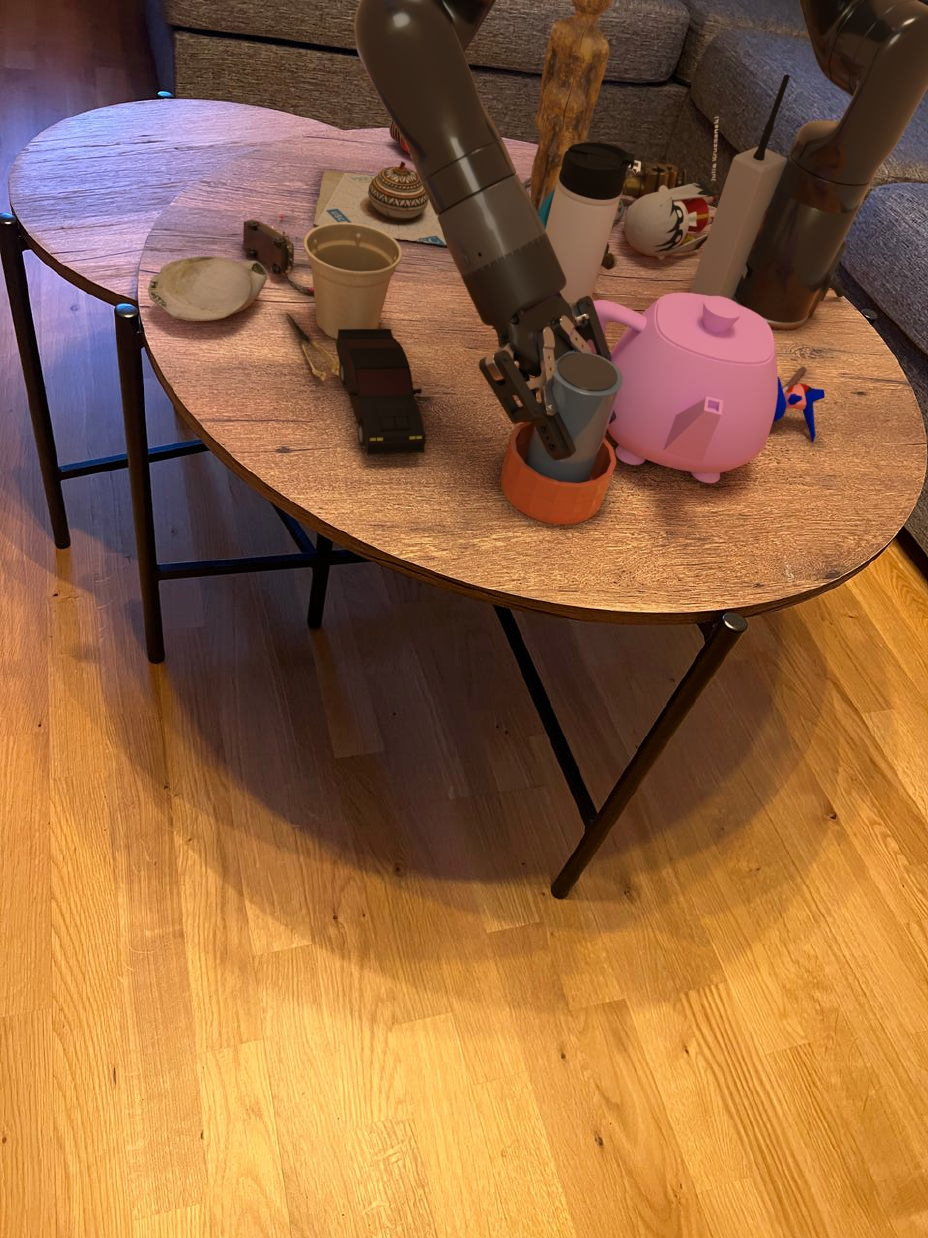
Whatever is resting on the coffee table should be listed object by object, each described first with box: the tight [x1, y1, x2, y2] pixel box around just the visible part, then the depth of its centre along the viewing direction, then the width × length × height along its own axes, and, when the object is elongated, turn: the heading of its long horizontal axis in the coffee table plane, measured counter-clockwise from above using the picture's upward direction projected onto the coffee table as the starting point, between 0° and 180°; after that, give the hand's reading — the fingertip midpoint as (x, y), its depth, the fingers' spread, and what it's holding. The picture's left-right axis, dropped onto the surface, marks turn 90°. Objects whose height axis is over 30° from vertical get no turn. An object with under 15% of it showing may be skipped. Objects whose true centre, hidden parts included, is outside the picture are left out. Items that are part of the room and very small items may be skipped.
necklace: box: [285, 264, 314, 296], centre depth 104 cm, size 4×6×1 cm
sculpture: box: [530, 0, 613, 212], centre depth 107 cm, size 7×6×30 cm
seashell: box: [147, 255, 268, 322], centre depth 96 cm, size 12×8×5 cm
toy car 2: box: [335, 328, 427, 456], centre depth 90 cm, size 7×16×5 cm, turn 15°
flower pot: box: [303, 222, 403, 340], centre depth 97 cm, size 9×9×9 cm
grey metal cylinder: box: [525, 351, 623, 483], centre depth 84 cm, size 6×6×12 cm
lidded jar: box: [313, 160, 447, 246], centre depth 116 cm, size 15×18×7 cm
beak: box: [285, 311, 340, 382], centre depth 96 cm, size 12×3×1 cm, turn 25°
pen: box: [782, 365, 808, 393], centre depth 105 cm, size 11×1×1 cm, turn 146°
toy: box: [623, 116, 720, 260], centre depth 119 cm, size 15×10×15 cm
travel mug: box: [545, 141, 636, 303], centre depth 98 cm, size 6×7×20 cm
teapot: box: [584, 292, 779, 484], centre depth 89 cm, size 20×20×15 cm
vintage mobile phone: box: [688, 74, 791, 300], centre depth 107 cm, size 4×5×25 cm
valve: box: [621, 162, 688, 198], centre depth 129 cm, size 7×15×5 cm, turn 89°
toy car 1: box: [242, 214, 295, 275], centre depth 106 cm, size 4×12×8 cm
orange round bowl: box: [500, 422, 617, 526], centre depth 87 cm, size 9×9×4 cm
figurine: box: [773, 376, 826, 443], centre depth 100 cm, size 5×8×5 cm, turn 86°
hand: (586, 439), depth 83 cm, fingers closed on grey metal cylinder, 6 cm apart
